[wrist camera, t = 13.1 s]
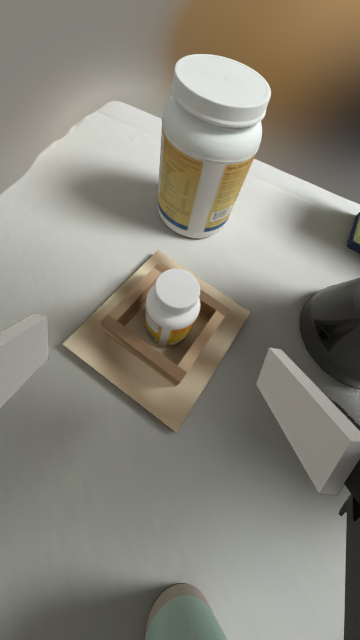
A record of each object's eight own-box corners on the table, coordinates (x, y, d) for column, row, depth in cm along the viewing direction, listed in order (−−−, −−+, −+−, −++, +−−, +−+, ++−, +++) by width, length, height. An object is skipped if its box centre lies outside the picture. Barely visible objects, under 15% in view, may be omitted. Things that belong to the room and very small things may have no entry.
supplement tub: (219, 191, 41) (265, 60, 26) (231, 243, 37) (294, 120, 21) (154, 186, 39) (162, 39, 24) (158, 240, 35) (170, 101, 19)
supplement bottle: (191, 314, 29) (213, 271, 20) (182, 352, 27) (202, 323, 18) (152, 303, 29) (156, 254, 20) (139, 341, 27) (138, 305, 18)
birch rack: (157, 255, 33) (159, 232, 29) (247, 315, 32) (263, 300, 27) (65, 346, 26) (50, 333, 22) (175, 432, 24) (182, 435, 20)
